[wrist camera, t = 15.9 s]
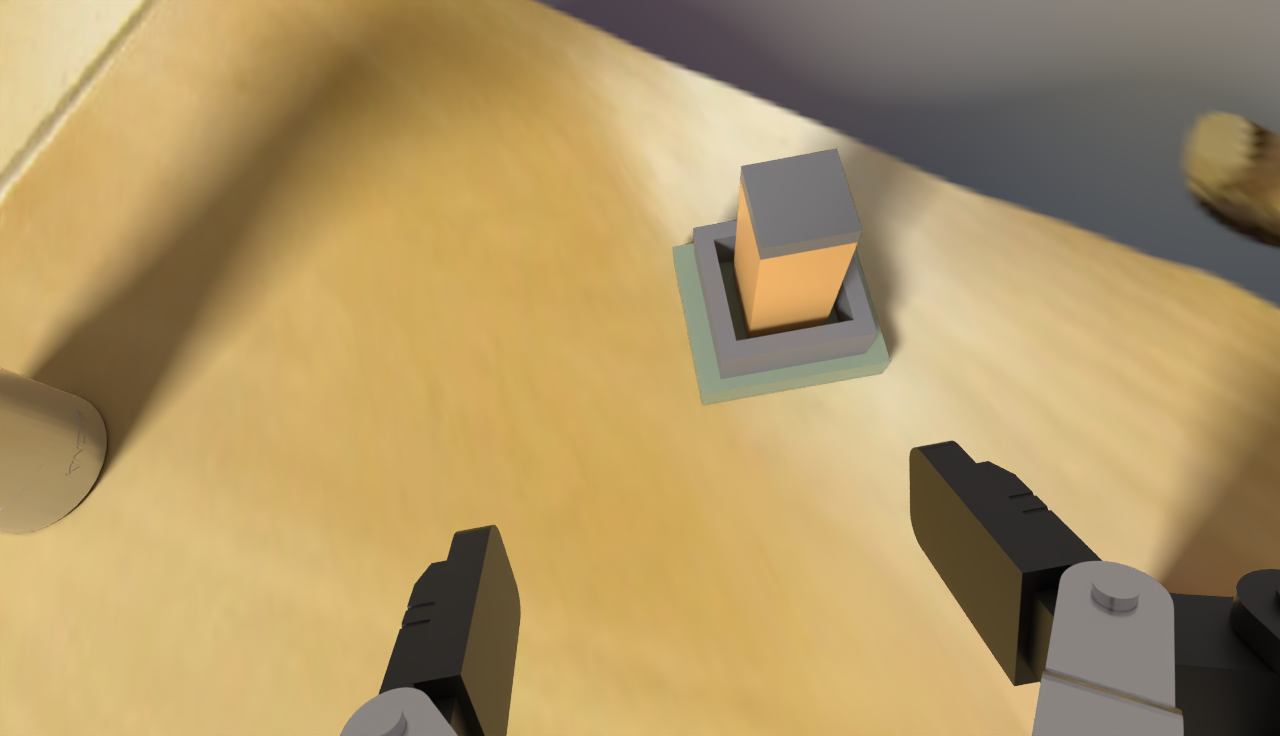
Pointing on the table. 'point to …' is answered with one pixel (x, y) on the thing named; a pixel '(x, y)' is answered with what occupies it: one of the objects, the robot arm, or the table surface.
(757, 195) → the grey-capped square pillar
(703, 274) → the grey square tray
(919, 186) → the table surface
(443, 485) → the table surface
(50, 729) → the table surface
